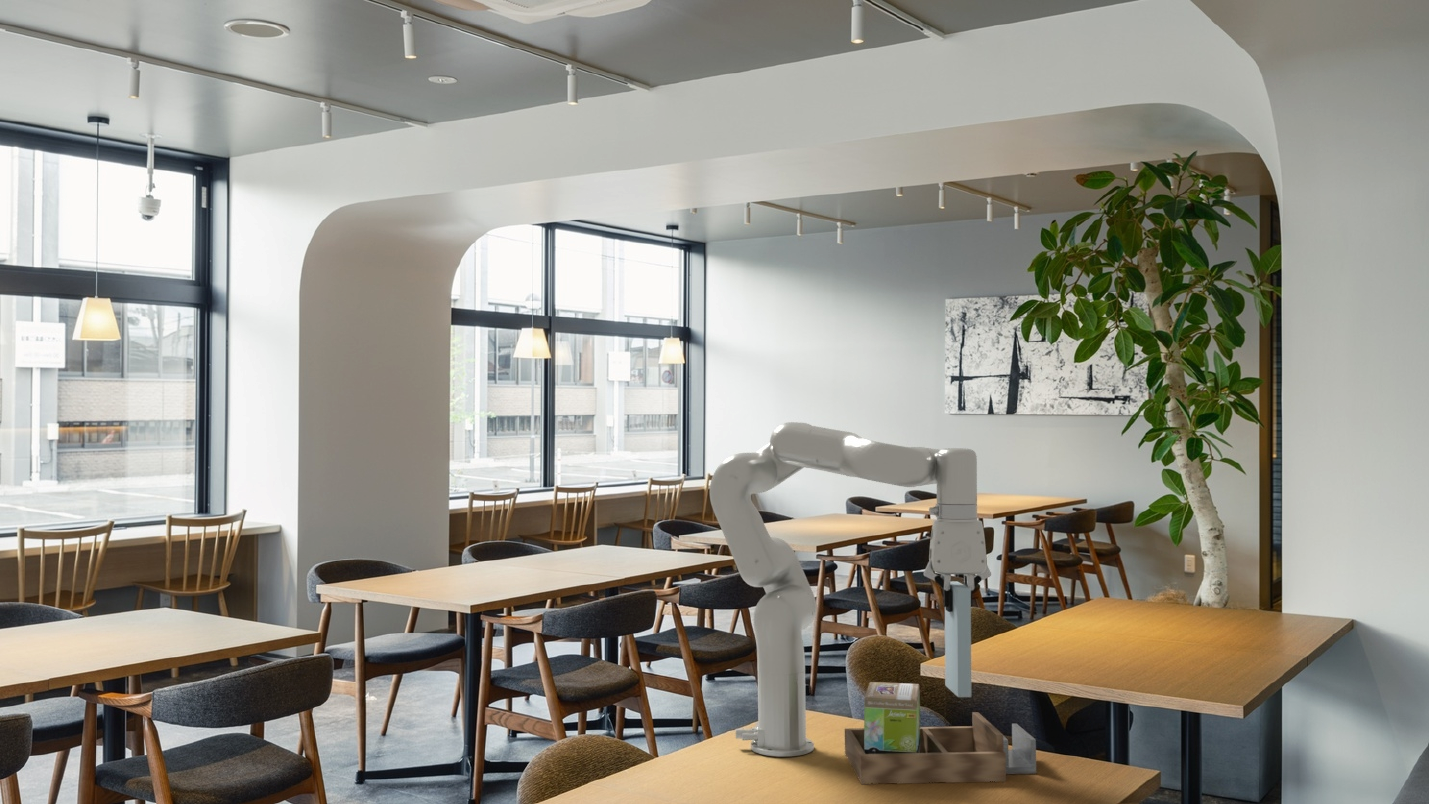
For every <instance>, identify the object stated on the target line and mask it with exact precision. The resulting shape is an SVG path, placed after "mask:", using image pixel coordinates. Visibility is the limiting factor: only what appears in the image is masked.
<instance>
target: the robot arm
mask: <svg viewBox="0 0 1429 804" xmlns="http://www.w3.org/2000/svg"><path fill="white" fill-rule="evenodd" d="M977 457H978V456H977V454H976V452H975V450H973V449H971V448H964V447H963V448H956V447H955V448H954V447H953V448H942V449H939V448H937V449H936V448H929V447H924V446H923V447H922V446H903V445H896V444H890V443H884V442H880V441H874V440H871V439H867V438H863V437H861V436H859V435H858V434H856V433H855V432H854V433H853V432H850V431H846V430H845V431H843V430H840V429H832V428H829V427H828V428H826V427H822V426H821V427H820V426H816V425H812V424H811V423H810V424H809V423H807V422H793V421H790V422H784V423H781V424H780V425H777V427H776V428H774V430H773V431H772V433H771V436H770V438H769V443H768V444H766V445H764V446H763V447H761V448H759V450H757V451H755V452H740V453H735V454H733V455H730V456H729V457H727V458H725V459H724V460H723V461H722V462H721V463H720V464H719V465H718V467H717V468H716V470H715V471H714V472H713V475H712V477H711V479H710V480H711V481H710V485H709V500H710V504H711V508H712V511H713V514H714V515H715V518H716V520H717V522H718V525H719V526H720V528H721V531H722V533H723V537H724V539H725V541H726V544H727V546H728V548H729V551H730V553H731V556H732V558H733V560H734V563H735V566H736V568H737V570H738V572H739V575H740V577H741V578H742V580H743V581H744V582H745V584H747V585H749V586H750V587H753V588H763V589H764V592H765V594H764V595H763V596H762V597H761V598H760V599H759V600H758V602H757V604H756V605H755V608H754V612H753V629H754V634H755V635H754V636H755V643H756V659H757V664H756V665H757V667H756V668H757V669H756V671H757V705H758V706H757V709H758V710H757V722H756V723H755V726H752V727H750V728H747V729H746V728H735V730H734V731H735V739H736V740H737V739H738V740H740V739H741V740H742V741H751V742H750V749H751V751H752V752H754V753H756V754H759V755H763V756H768V757H778V758H779V757H785V758H787V757H798V756H802V755H803V756H804V755H807V754H810V753H811V752H813V751H814V749H815V743H814V742H813V741H812V739H809V738H807V733H806V731H807V728H806V727H807V726H806V725H807V721H806V718H807V717H806V713H807V712H806V711H807V710H806V660H805V657H806V656H805V646H804V640H803V635H802V631H803V630H805V629H807V628H809V626H811V624H812V623H813V622H814V620H815V618H816V616H817V610H818V608H817V601H816V598H815V594H814V592H813V590H812V588H811V585H810V582H809V581H808V578H807V576H806V574H805V571H804V569H803V568H802V565H801V562H800V560H799V559H798V556H797V554H796V552H795V551H794V549H793V548H792V547H791V545H790V544H789V543H788V542H787V541H785V540H783V538H779V537H775V536H771V535H770V534H769V532H768V529H767V527H766V526H765V523H764V520H763V518H762V515H761V514H760V512H759V510H758V508H757V507H756V506H755V505H754V502H753V501H752V497H751V496H752V495H754V494H760V493H761V494H762V493H766V492H768V491H770V490H772V489H774V488H775V487H777V486H779V485H780V484H781V483H783V482H784V481H786V480H787V479H789V478H791V477H792V476H793V475H796V474H797V473H798V472H799V471H801V470H803V469H804V468H806V469H813V470H818V471H824V472H827V473H833V474H836V475H841V476H846V477H850V478H858V479H859V478H860V479H864V480H867V481H872V482H876V483H880V484H881V483H882V484H888V485H892V486H893V485H894V486H898V487H903V488H916V487H922V486H926V485H936V503H935V506H933V507H930V506H929V508H928V511H929V512H928V513H929V515H933V516H935V518H936V519H934V520H933V521H932V522H933V523H932V526H931V533H930V541H929V542H930V543H929V555H928V560H929V561H928V562H927V565H926V566H925V569H924V571H923V576H924V577H926V578H927V579H930V580H931V581H934V582H935V583H937V585H938V586H939V587H941V589H942V606H943V608H945V607H946V610H947V611H948V612H952V611H953V592H952V591H951V587H950V582H952V581H951V578H952V577H951V576H952V575H963V582H964V583H963V585H965V586H967V587H969V588H971V608H972V607H973V591H974V590H975V588H976V586H977V585H979V583H980V582H981V581H984V580H985V579H988V578H990V577H991V576H992V572H991V570H990V568H989V566H988V562H987V549H986V538H985V531H984V526H983V521H982V520H978V473H977V472H978V459H977ZM936 573H937V574H936ZM938 574H939V575H938Z"/></svg>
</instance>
